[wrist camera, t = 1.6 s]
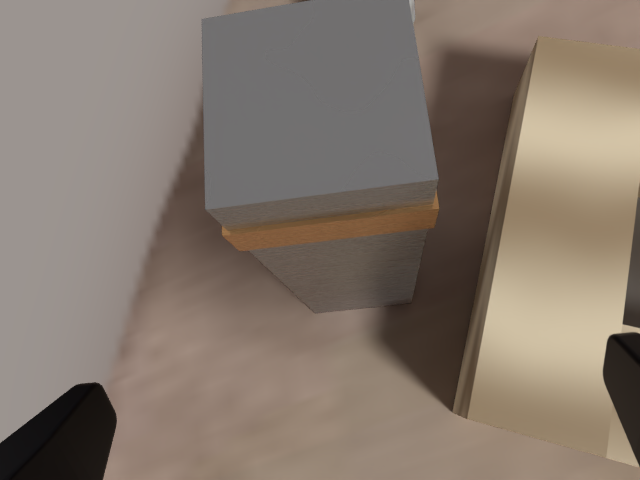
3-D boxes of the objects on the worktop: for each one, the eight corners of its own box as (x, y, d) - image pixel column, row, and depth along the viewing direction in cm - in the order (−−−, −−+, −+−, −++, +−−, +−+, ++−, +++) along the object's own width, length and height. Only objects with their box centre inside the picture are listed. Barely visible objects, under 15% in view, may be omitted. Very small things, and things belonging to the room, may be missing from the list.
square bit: (413, 305, 21) (445, 183, 8) (312, 315, 21) (199, 215, 9) (400, 209, 22) (410, -23, 9) (305, 221, 22) (196, 15, 10)
